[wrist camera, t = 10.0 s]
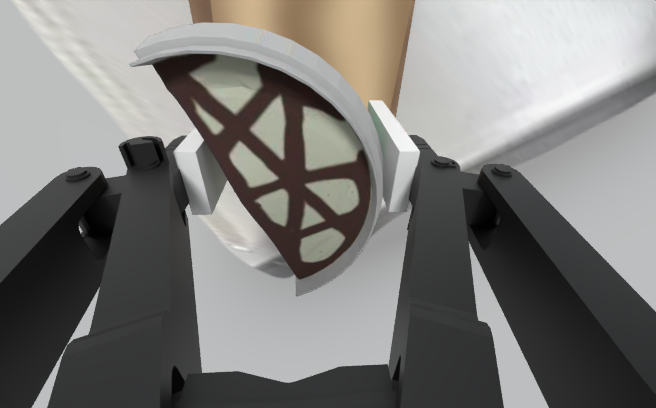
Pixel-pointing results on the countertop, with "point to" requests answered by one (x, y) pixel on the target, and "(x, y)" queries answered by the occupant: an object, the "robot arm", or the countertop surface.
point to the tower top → (335, 35)
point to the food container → (279, 138)
